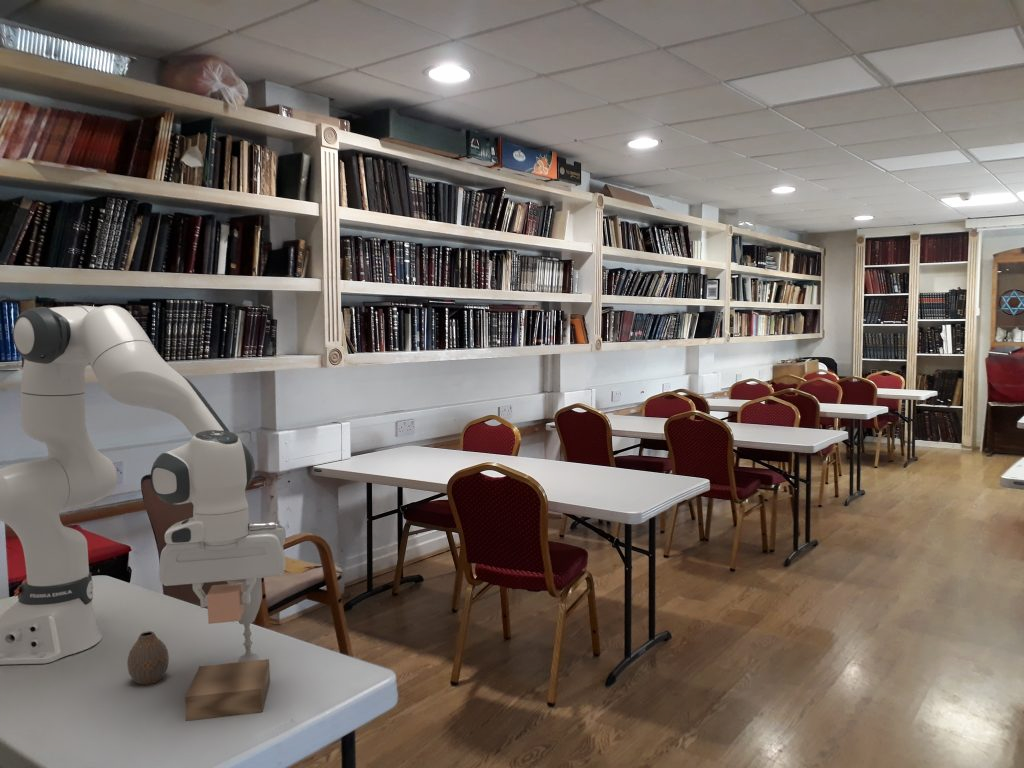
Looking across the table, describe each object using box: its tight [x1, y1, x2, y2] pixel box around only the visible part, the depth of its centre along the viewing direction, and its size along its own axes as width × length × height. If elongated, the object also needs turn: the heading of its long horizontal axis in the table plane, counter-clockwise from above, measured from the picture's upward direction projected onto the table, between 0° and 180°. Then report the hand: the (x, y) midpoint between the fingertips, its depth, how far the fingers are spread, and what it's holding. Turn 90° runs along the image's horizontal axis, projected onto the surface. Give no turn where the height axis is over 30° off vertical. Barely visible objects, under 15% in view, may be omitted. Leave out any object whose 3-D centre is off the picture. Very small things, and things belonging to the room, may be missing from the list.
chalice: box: [226, 578, 263, 662], centre depth 146 cm, size 7×7×18 cm
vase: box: [127, 630, 170, 686], centre depth 142 cm, size 7×7×9 cm
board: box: [184, 658, 271, 722], centre depth 134 cm, size 12×12×4 cm
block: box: [206, 583, 244, 625], centre depth 133 cm, size 5×5×5 cm
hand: (225, 605), depth 133 cm, fingers closed on block, 5 cm apart
